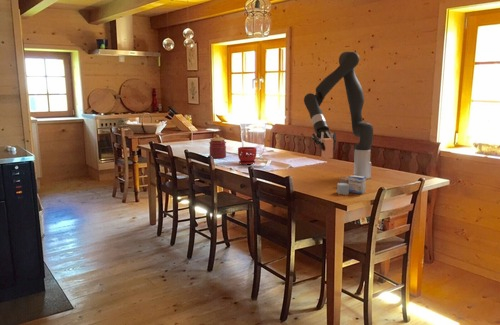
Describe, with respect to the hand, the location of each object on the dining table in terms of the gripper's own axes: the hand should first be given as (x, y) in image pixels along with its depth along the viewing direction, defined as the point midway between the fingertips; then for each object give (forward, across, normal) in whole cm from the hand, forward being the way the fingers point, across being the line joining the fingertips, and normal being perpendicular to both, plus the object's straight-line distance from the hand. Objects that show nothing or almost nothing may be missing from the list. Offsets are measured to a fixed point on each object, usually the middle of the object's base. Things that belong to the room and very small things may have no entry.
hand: (328, 149), depth 224 cm
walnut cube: (+13, +13, +19) cm, 26 cm away
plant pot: (-45, -23, +77) cm, 92 cm away
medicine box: (+21, +13, +11) cm, 27 cm away
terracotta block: (+2, 0, +5) cm, 5 cm away
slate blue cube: (+21, +5, +11) cm, 24 cm away
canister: (-69, -38, +101) cm, 128 cm away
